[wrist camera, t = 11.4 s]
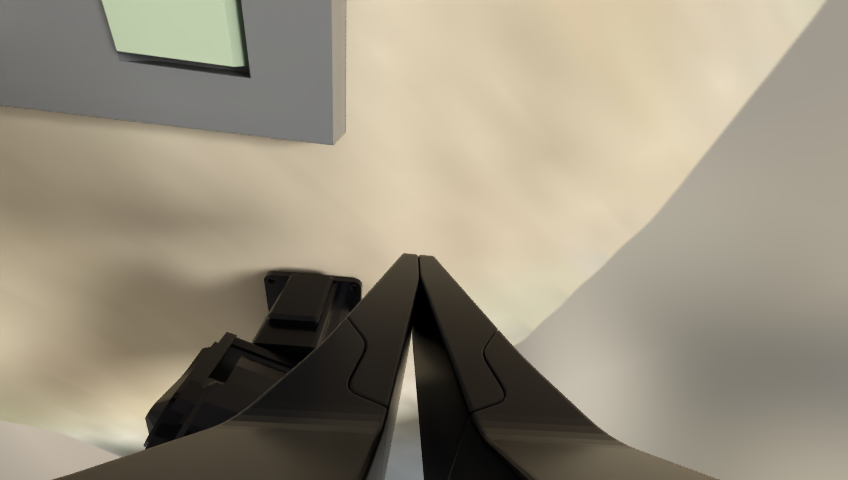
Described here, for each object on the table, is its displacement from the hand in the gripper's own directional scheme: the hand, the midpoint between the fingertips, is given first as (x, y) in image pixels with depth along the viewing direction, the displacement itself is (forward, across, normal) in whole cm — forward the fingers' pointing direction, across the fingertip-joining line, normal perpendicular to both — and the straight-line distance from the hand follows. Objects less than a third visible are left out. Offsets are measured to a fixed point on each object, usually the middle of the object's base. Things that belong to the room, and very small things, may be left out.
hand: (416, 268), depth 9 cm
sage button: (+10, +10, -6) cm, 15 cm away
